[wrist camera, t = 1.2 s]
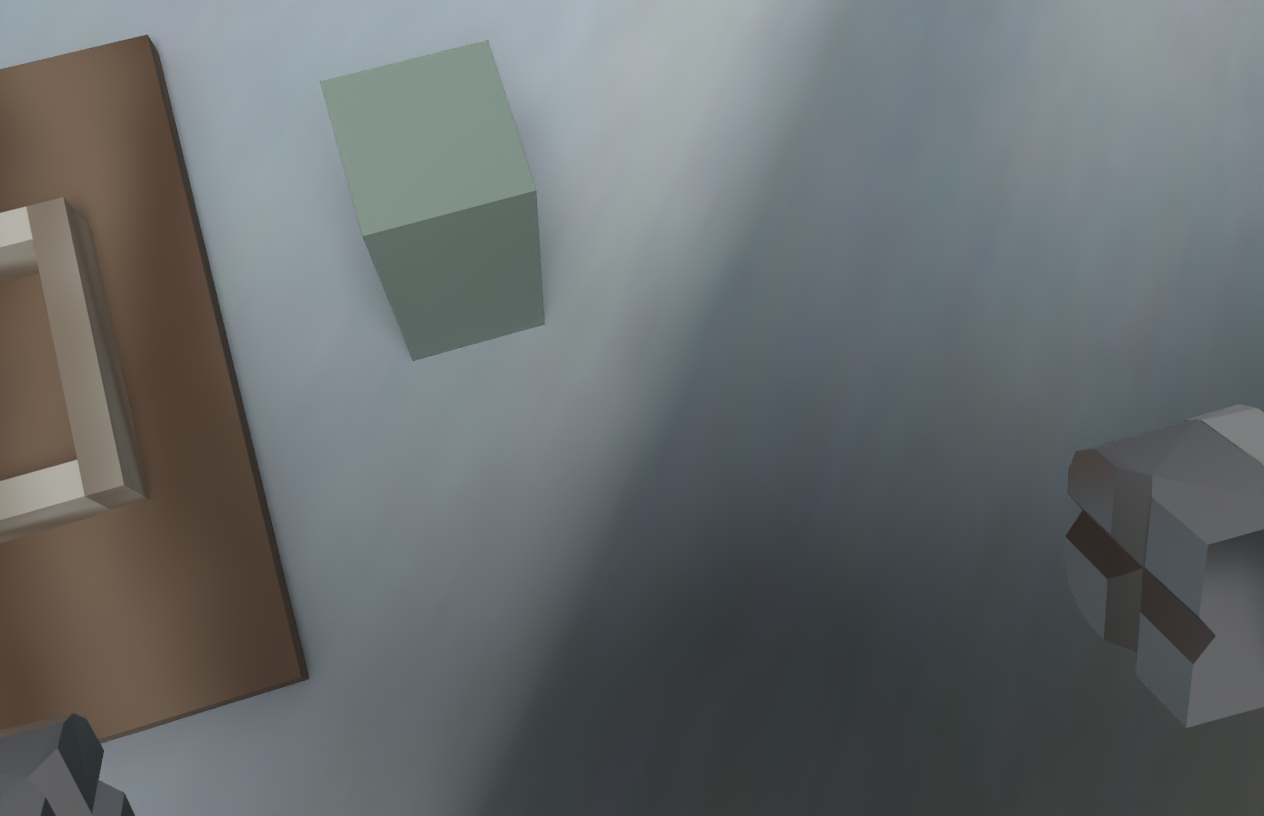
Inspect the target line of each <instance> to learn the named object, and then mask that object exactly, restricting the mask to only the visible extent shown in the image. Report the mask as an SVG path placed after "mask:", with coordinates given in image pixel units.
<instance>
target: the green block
mask: <svg viewBox="0 0 1264 816" xmlns="http://www.w3.org/2000/svg"><path fill="white" fill-rule="evenodd" d="M320 84H321V88H322V91H323V95H324V99H325V102H326V106H327V110H328V113H329V117H330V120H331V124H332V128H333V131H334V135H335V138H336V142H337V146H338V149H339V153H340V156H341V160H342V164H343V167H344V171H345V174H346V178H347V182H348V185H349V189H350V193H351V196H352V200H353V203H354V207H355V211H356V214H357V218H358V221H359V225H360V229H361V232H362V236H363V238H364V241H365V243H366V246H367V248H368V251H369V253H370V256H371V258H372V261H373V263H374V265H375V268H376V270H377V273H378V275H379V278H380V280H381V283H382V285H383V288H384V290H385V293H386V295H387V297H388V300H389V302H390V305H391V307H392V310H393V312H394V315H395V317H396V320H397V322H398V324H399V327H400V329H401V332H402V334H403V337H404V339H405V342H406V344H407V347H408V349H409V352H410V354H411V356H412V359H413V361H414V360H418V359H421V358H425V357H428V356H432V355H436V354H439V353H443V352H446V351H450V350H453V349H457V348H461V347H464V346H468V345H471V344H475V343H479V342H482V341H486V340H489V339H493V338H497V337H500V336H504V335H507V334H511V333H515V332H518V331H522V330H525V329H529V328H532V327H536V326H540V325H543V324H544V310H543V294H542V278H541V262H540V245H539V229H538V213H537V197H536V188H535V185H534V182H533V179H532V176H531V173H530V170H529V167H528V163H527V160H526V157H525V154H524V151H523V148H522V145H521V142H520V138H519V135H518V132H517V129H516V126H515V123H514V120H513V117H512V113H511V110H510V107H509V104H508V101H507V98H506V95H505V91H504V88H503V85H502V82H501V79H500V76H499V73H498V70H497V66H496V63H495V60H494V57H493V54H492V51H491V48H490V45H489V41H488V40H487V41H483V42H479V43H475V44H471V45H467V46H463V47H459V48H455V49H451V50H447V51H443V52H439V53H435V54H430V55H426V56H422V57H418V58H414V59H410V60H406V61H402V62H398V63H394V64H390V65H386V66H382V67H378V68H374V69H370V70H366V71H361V72H357V73H353V74H349V75H345V76H341V77H337V78H333V79H329V80H325V81H321V82H320Z"/></svg>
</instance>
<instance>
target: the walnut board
mask: <svg viewBox="0 0 1264 816" xmlns="http://www.w3.org/2000/svg"><path fill="white" fill-rule="evenodd" d="M307 679H309V677H308V673H307V669H306V664H305V660H304V656H303V652H302V648H301V644H300V639H299V635H298V631H297V627H296V623H295V619H294V615H293V610H292V606H291V602H290V598H289V594H288V590H287V585H286V581H285V577H284V573H283V569H282V565H281V561H280V556H279V552H278V548H277V544H276V540H275V536H274V531H273V527H272V523H271V519H270V515H269V511H268V507H267V502H266V498H265V494H264V490H263V486H262V482H261V477H260V473H259V469H258V465H257V461H256V457H255V453H254V448H253V444H252V440H251V436H250V432H249V428H248V424H247V419H246V415H245V411H244V407H243V403H242V399H241V394H240V390H239V386H238V382H237V378H236V374H235V370H234V365H233V361H232V357H231V353H230V349H229V345H228V340H227V336H226V332H225V328H224V324H223V320H222V316H221V311H220V307H219V303H218V299H217V295H216V291H215V286H214V282H213V278H212V274H211V270H210V266H209V262H208V257H207V253H206V249H205V245H204V241H203V237H202V232H201V228H200V224H199V220H198V216H197V212H196V208H195V203H194V199H193V195H192V191H191V187H190V183H189V178H188V174H187V170H186V166H185V162H184V158H183V154H182V149H181V145H180V141H179V137H178V133H177V129H176V125H175V120H174V116H173V112H172V108H171V104H170V100H169V95H168V91H167V87H166V83H165V79H164V75H163V71H162V66H161V62H160V58H159V54H158V52H157V50H156V48H155V46H154V45H153V43H152V41H151V40H150V38H149V36H148V35H144V36H140V37H135V38H131V39H127V40H123V41H118V42H114V43H110V44H106V45H101V46H97V47H93V48H89V49H85V50H80V51H76V52H72V53H68V54H63V55H59V56H55V57H51V58H47V59H42V60H38V61H34V62H30V63H25V64H21V65H17V66H13V67H8V68H4V69H0V730H4V729H8V728H12V727H16V726H20V725H25V724H29V723H33V722H37V721H41V720H45V719H50V718H54V717H58V716H62V715H66V714H70V713H75V714H77V715H79V716H82V717H84V718H86V719H87V720H88V722H89V724H90V726H91V728H92V729H93V731H94V733H95V735H96V737H97V739H98V741H99V742H100V743H103V742H107V741H110V740H113V739H116V738H119V737H123V736H126V735H129V734H132V733H136V732H139V731H142V730H145V729H149V728H152V727H155V726H158V725H162V724H165V723H168V722H171V721H174V720H178V719H181V718H184V717H187V716H191V715H194V714H197V713H200V712H204V711H207V710H210V709H213V708H217V707H220V706H223V705H226V704H229V703H233V702H236V701H239V700H242V699H246V698H249V697H252V696H255V695H259V694H262V693H265V692H268V691H272V690H275V689H278V688H281V687H284V686H288V685H291V684H294V683H297V682H301V681H304V680H307Z"/></svg>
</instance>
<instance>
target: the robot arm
mask: <svg viewBox="0 0 1264 816" xmlns="http://www.w3.org/2000/svg"><path fill="white" fill-rule="evenodd" d="M1067 493H1068V495H1069V496H1070V497H1071V498H1072V499H1073V500H1074V501H1075V502H1076V503H1077V504H1078V506H1079V507H1080V508H1081V509H1082V510H1083V511H1082V512H1081V513H1080V515H1079V516H1078V518H1077V519H1076V521H1075V522H1074V524H1073V525H1072V527H1071V528H1070V530H1069V531H1068V533H1067V534H1066V536H1065V570H1066V574H1067V577H1068V580H1069V584H1070V587H1071V590H1072V594H1073V597H1074V600H1075V601H1076V603H1077V605H1078V607H1079V608H1080V610H1081V612H1082V613H1083V615H1084V617H1085V619H1086V620H1087V621H1088V623H1089V624H1090V625H1091V626H1092V627H1093V628H1094V629H1095V630H1096V632H1097V633H1098V634H1099V635H1100V636H1101V637H1102V638H1103V639H1104V640H1106V641H1108V642H1111V643H1114V644H1116V645H1119V646H1122V647H1124V648H1127V649H1130V650H1132V651H1135V652H1137V655H1136V675H1137V676H1138V677H1139V678H1140V679H1141V680H1142V681H1143V683H1144V684H1145V685H1146V686H1147V687H1148V688H1149V689H1150V690H1151V691H1152V692H1153V693H1154V694H1155V695H1156V696H1157V697H1158V698H1159V700H1160V701H1161V702H1162V703H1163V704H1164V705H1165V706H1166V707H1167V708H1168V709H1169V710H1170V711H1171V712H1172V713H1173V714H1174V716H1175V717H1176V718H1177V719H1178V720H1179V721H1180V722H1181V723H1182V724H1183V725H1184V726H1185V727H1186V728H1188V727H1192V726H1195V725H1199V724H1203V723H1206V722H1210V721H1214V720H1217V719H1221V718H1225V717H1229V716H1232V715H1236V714H1240V713H1243V712H1247V711H1251V710H1254V709H1258V708H1262V707H1264V412H1262V411H1261V410H1259V409H1258V408H1254V407H1250V406H1244V405H1239V404H1238V405H1234V406H1231V407H1227V408H1224V409H1220V410H1217V411H1214V412H1210V413H1207V414H1203V415H1200V416H1197V417H1193V418H1190V419H1186V420H1185V421H1184V422H1183V423H1180V424H1176V425H1172V426H1168V427H1165V428H1161V429H1157V430H1153V431H1150V432H1146V433H1142V434H1138V435H1135V436H1131V437H1127V438H1123V439H1120V440H1116V441H1112V442H1108V443H1105V444H1101V445H1097V446H1093V447H1090V448H1086V449H1082V450H1078V451H1076V453H1075V455H1074V457H1073V460H1072V462H1071V464H1070V467H1069V474H1068V490H1067ZM103 753H104V750H103V748H102V746H101V744H100V742H99V741H98V739H97V737H96V735H95V733H94V731H93V729H92V728H91V726H90V724H89V722H88V720H87V719H86V718H84V717H82V716H79V715H77V714H75V713H70V714H66V715H62V716H58V717H54V718H50V719H45V720H41V721H37V722H33V723H29V724H25V725H20V726H16V727H12V728H8V729H4V730H0V816H135V814H134V812H133V810H132V808H131V806H130V804H129V802H128V799H127V797H126V795H125V793H124V792H122V791H119V790H117V789H115V788H113V787H111V786H109V785H107V784H105V783H103V782H101V781H99V780H98V779H99V774H100V769H101V764H102V758H103Z"/></svg>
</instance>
